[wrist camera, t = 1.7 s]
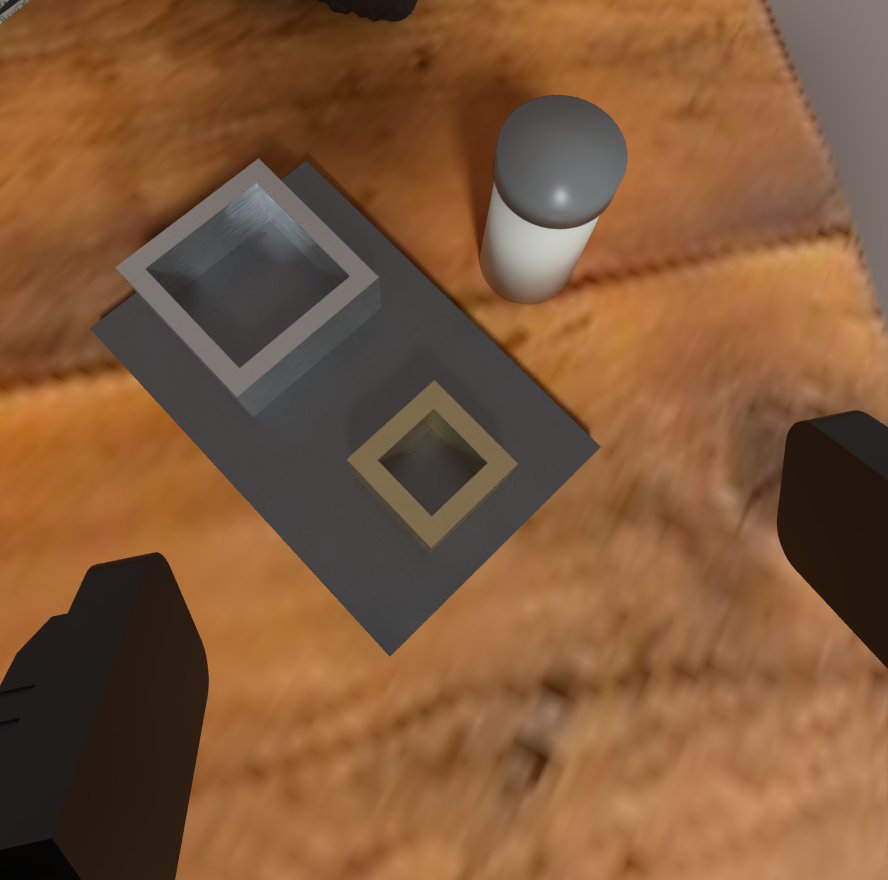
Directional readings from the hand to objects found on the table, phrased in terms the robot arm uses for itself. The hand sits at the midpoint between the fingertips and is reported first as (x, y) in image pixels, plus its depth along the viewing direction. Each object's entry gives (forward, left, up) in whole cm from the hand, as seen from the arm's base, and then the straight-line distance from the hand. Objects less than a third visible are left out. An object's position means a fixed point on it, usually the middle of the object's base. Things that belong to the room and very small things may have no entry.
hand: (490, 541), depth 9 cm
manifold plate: (-11, +4, -28) cm, 30 cm away
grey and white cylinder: (-10, +17, -28) cm, 34 cm away
